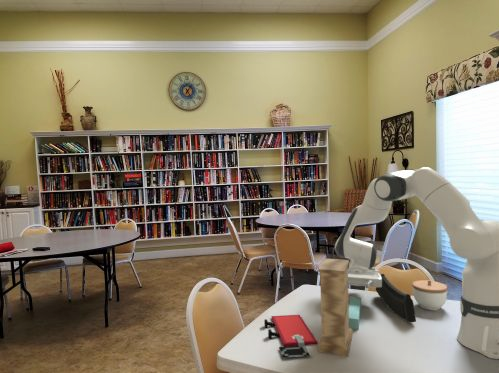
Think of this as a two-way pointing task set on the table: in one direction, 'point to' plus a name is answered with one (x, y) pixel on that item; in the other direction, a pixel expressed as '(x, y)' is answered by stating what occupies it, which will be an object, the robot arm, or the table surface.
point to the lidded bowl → (429, 294)
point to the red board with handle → (291, 335)
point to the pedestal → (334, 307)
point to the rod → (354, 312)
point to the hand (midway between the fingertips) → (354, 285)
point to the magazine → (397, 300)
